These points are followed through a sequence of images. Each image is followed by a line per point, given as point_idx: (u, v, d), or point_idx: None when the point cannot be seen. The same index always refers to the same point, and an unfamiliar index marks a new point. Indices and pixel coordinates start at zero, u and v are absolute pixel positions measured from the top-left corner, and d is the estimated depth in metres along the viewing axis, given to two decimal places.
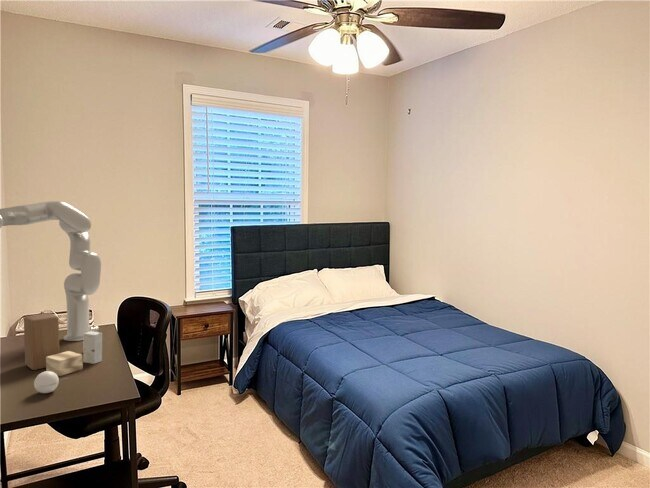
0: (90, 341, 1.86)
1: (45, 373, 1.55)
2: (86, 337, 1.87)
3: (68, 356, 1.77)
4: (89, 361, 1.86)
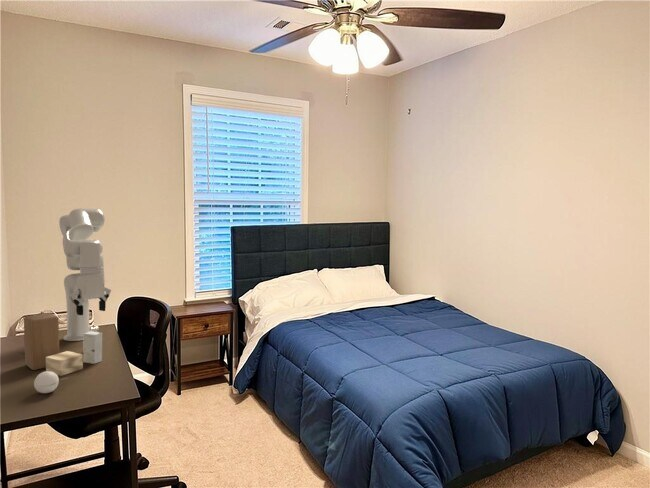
0: (90, 341, 1.86)
1: (45, 373, 1.55)
2: (86, 337, 1.87)
3: (68, 356, 1.77)
4: (89, 361, 1.86)
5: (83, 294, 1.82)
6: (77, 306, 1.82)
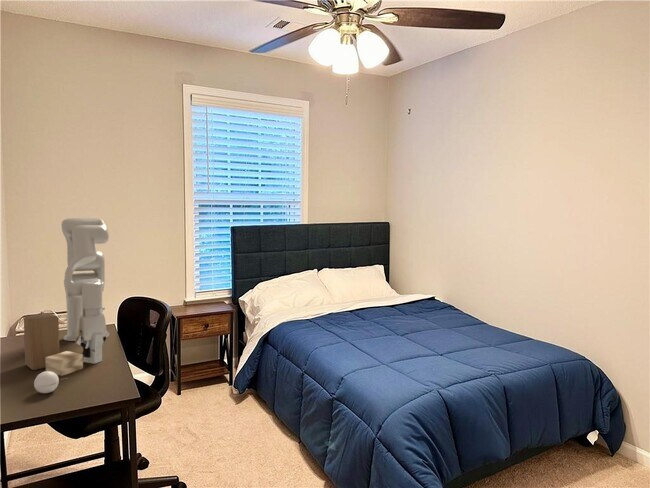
0: (90, 341, 1.86)
1: (45, 373, 1.55)
2: None
3: (68, 356, 1.77)
4: (90, 360, 1.86)
5: (85, 335, 1.83)
6: (84, 349, 1.85)
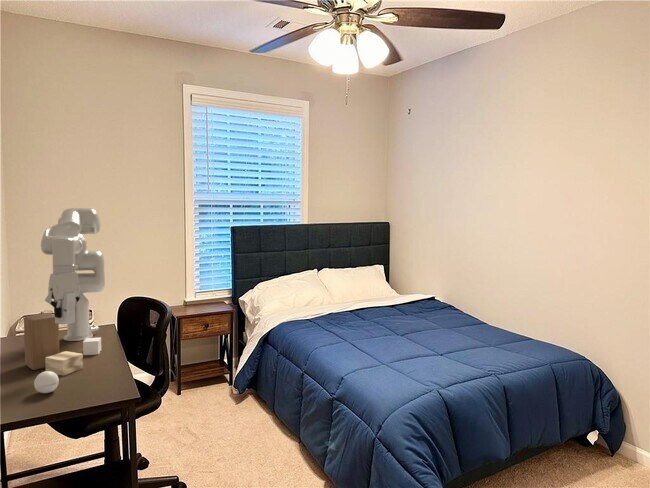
0: (62, 300, 1.75)
1: (45, 373, 1.55)
2: None
3: (69, 356, 1.77)
4: (61, 321, 1.75)
5: (56, 294, 1.72)
6: (55, 308, 1.74)
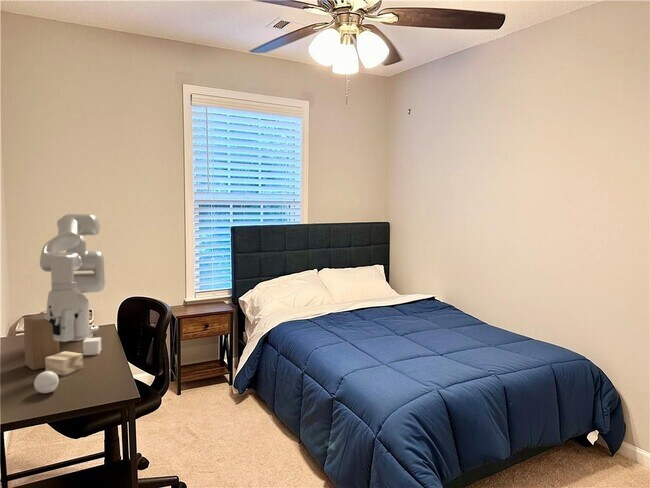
0: (60, 318, 1.75)
1: (45, 373, 1.55)
2: None
3: (69, 356, 1.77)
4: (60, 338, 1.75)
5: (54, 311, 1.72)
6: (53, 326, 1.74)
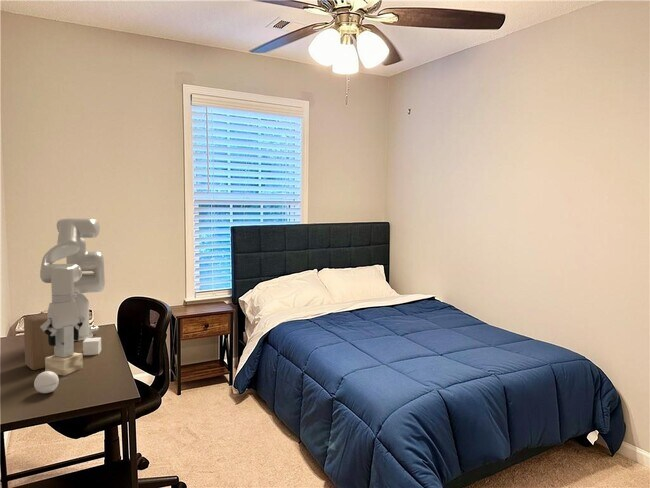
0: (60, 333, 1.75)
1: (45, 373, 1.55)
2: None
3: (69, 356, 1.77)
4: (60, 354, 1.76)
5: (54, 323, 1.72)
6: (49, 336, 1.73)
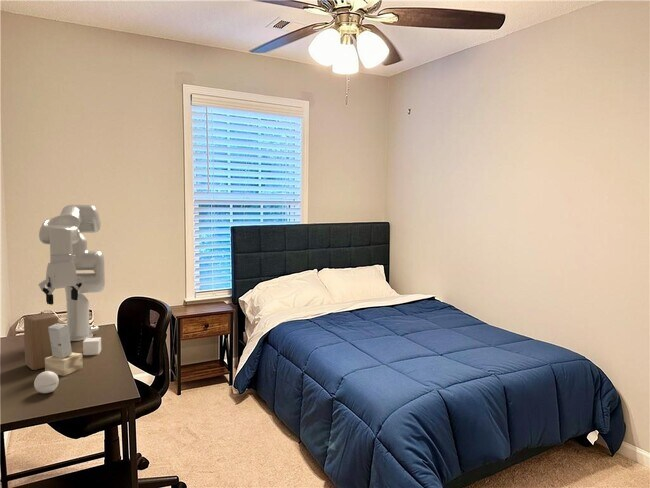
0: (55, 335, 1.74)
1: (45, 373, 1.55)
2: (51, 331, 1.74)
3: (69, 356, 1.77)
4: (58, 355, 1.75)
5: (53, 282, 1.74)
6: (47, 295, 1.74)
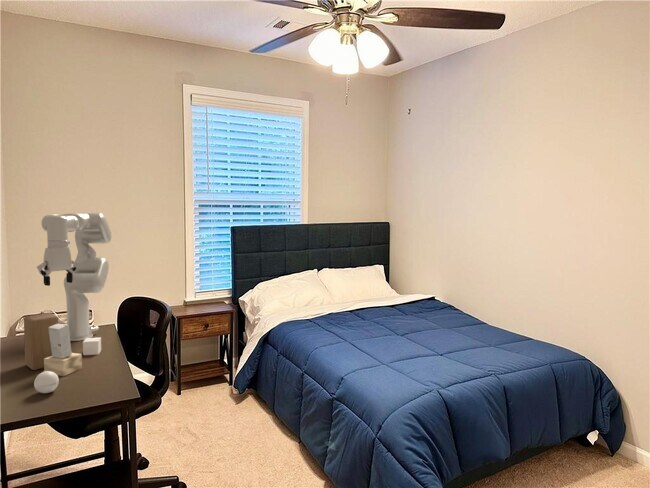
0: (55, 335, 1.73)
1: (45, 373, 1.55)
2: (51, 331, 1.74)
3: (68, 356, 1.77)
4: (58, 355, 1.75)
5: (50, 265, 1.92)
6: (44, 277, 1.92)
